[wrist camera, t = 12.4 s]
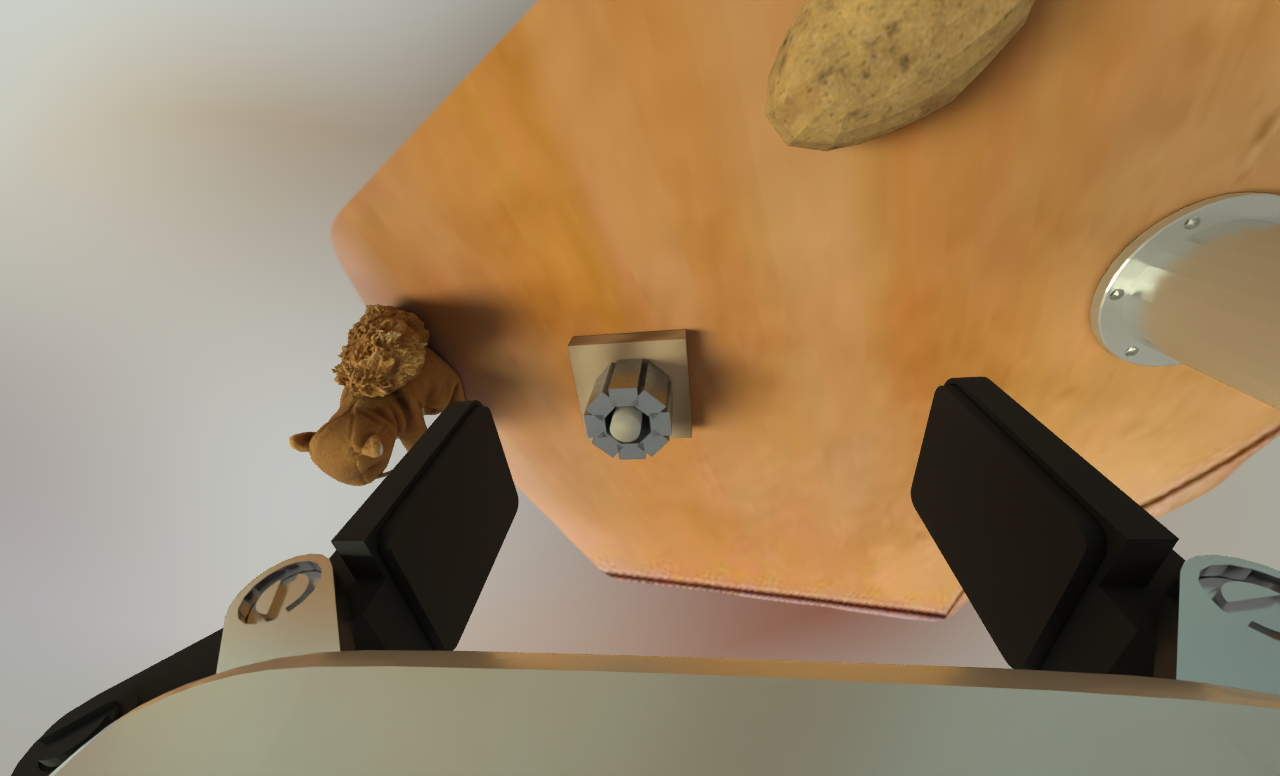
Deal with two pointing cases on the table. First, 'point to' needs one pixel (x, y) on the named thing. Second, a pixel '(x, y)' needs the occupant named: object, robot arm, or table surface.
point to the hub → (631, 388)
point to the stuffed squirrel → (380, 396)
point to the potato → (880, 64)
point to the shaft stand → (651, 346)
